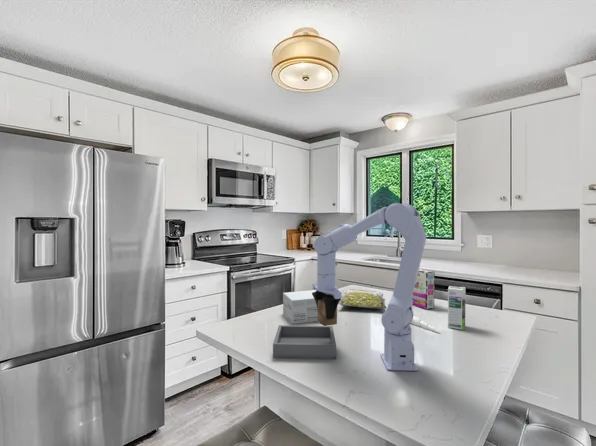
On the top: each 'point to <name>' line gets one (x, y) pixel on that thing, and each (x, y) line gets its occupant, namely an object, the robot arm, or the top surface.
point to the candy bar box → (424, 289)
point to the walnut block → (322, 315)
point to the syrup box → (456, 307)
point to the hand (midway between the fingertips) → (326, 316)
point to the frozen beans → (362, 299)
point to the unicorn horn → (422, 324)
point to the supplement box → (300, 306)
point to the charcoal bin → (304, 342)
